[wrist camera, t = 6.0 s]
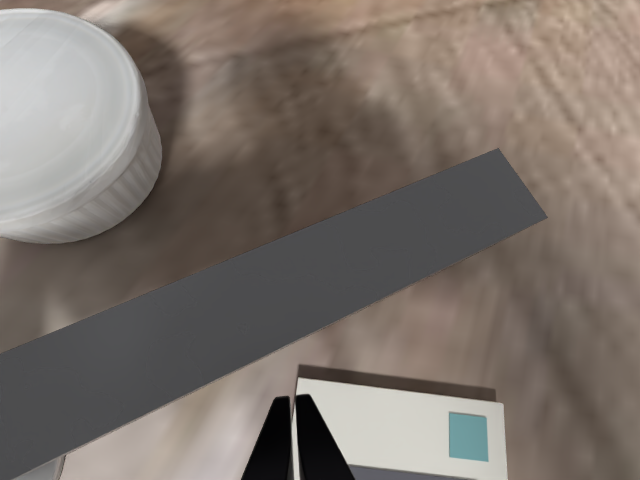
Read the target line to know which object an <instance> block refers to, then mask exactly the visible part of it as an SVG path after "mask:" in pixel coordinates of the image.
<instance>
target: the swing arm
mask: <svg viewBox="0 0 640 480" xmlns="http://www.w3.org/2000/svg"><path fill="white" fill-rule="evenodd" d="M546 218H548V217H547V216H546V214H545V213H544V211H543V210H542V209H541V207H540V206H539V204H538V203H537V202H536V200H535V199H534V197H533V196H532V195H531V193H530V192H529V190H528V189H527V188H526V186H525V185H524V183H523V182H522V181H521V179H520V178H519V176H518V175H517V174H516V172H515V171H514V169H513V168H512V167H511V165H510V164H509V162H508V161H507V160H506V158H505V157H504V155H503V154H502V153H501V151H500V150H499V148H497V149H495V150H493V151H490V152H488V153H485V154H483V155H480V156H478V157H476V158H473V159H471V160H468V161H466V162H464V163H461V164H459V165H456V166H454V167H451V168H449V169H447V170H444V171H442V172H439V173H437V174H434V175H432V176H430V177H427V178H425V179H422V180H420V181H418V182H415V183H413V184H410V185H408V186H405V187H403V188H401V189H398V190H396V191H393V192H391V193H388V194H386V195H384V196H381V197H379V198H376V199H374V200H372V201H369V202H367V203H364V204H362V205H359V206H357V207H355V208H352V209H350V210H347V211H345V212H343V213H340V214H338V215H335V216H333V217H330V218H328V219H326V220H323V221H321V222H318V223H316V224H313V225H311V226H309V227H306V228H304V229H301V230H299V231H297V232H294V233H292V234H289V235H287V236H284V237H282V238H280V239H277V240H275V241H272V242H270V243H268V244H265V245H263V246H260V247H258V248H255V249H253V250H251V251H248V252H246V253H243V254H241V255H238V256H236V257H234V258H231V259H229V260H226V261H224V262H222V263H219V264H217V265H214V266H212V267H209V268H207V269H205V270H202V271H200V272H197V273H195V274H192V275H190V276H188V277H185V278H183V279H180V280H178V281H176V282H173V283H171V284H168V285H166V286H163V287H161V288H159V289H156V290H154V291H151V292H149V293H147V294H144V295H142V296H139V297H137V298H134V299H132V300H130V301H127V302H125V303H122V304H120V305H117V306H115V307H113V308H110V309H108V310H105V311H103V312H101V313H98V314H96V315H93V316H91V317H88V318H86V319H84V320H81V321H79V322H76V323H74V324H72V325H69V326H67V327H64V328H62V329H59V330H57V331H55V332H52V333H50V334H47V335H45V336H42V337H40V338H38V339H35V340H33V341H30V342H28V343H26V344H23V345H21V346H18V347H16V348H13V349H11V350H9V351H6V352H4V353H1V354H0V480H16V479H18V478H20V477H22V476H24V475H26V474H28V473H30V472H32V471H34V470H36V469H38V468H40V467H42V466H44V465H46V464H48V463H50V462H52V461H54V460H57V459H59V458H61V457H63V456H65V455H67V454H69V453H71V452H73V451H75V450H77V449H79V448H81V447H83V446H85V445H87V444H89V443H91V442H93V441H95V440H97V439H99V438H101V437H103V436H105V435H108V434H110V433H112V432H114V431H116V430H118V429H120V428H122V427H124V426H126V425H128V424H130V423H132V422H134V421H136V420H138V419H140V418H142V417H144V416H146V415H148V414H150V413H152V412H154V411H157V410H159V409H161V408H163V407H165V406H167V405H169V404H171V403H173V402H175V401H177V400H179V399H181V398H183V397H185V396H187V395H189V394H191V393H193V392H195V391H197V390H199V389H201V388H203V387H205V386H208V385H210V384H212V383H214V382H216V381H218V380H220V379H222V378H224V377H226V376H228V375H230V374H232V373H234V372H236V371H238V370H240V369H242V368H244V367H246V366H248V365H250V364H252V363H254V362H257V361H259V360H261V359H263V358H265V357H267V356H269V355H271V354H273V353H275V352H277V351H279V350H281V349H283V348H285V347H287V346H289V345H291V344H293V343H295V342H297V341H299V340H301V339H303V338H305V337H308V336H310V335H312V334H314V333H316V332H318V331H320V330H322V329H324V328H326V327H328V326H330V325H332V324H334V323H336V322H338V321H340V320H342V319H344V318H346V317H348V316H350V315H352V314H354V313H357V312H359V311H361V310H363V309H365V308H367V307H369V306H371V305H373V304H375V303H377V302H379V301H381V300H383V299H385V298H387V297H389V296H391V295H393V294H395V293H397V292H399V291H401V290H403V289H405V288H408V287H410V286H412V285H414V284H416V283H418V282H420V281H422V280H424V279H426V278H428V277H430V276H432V275H434V274H436V273H438V272H440V271H442V270H444V269H446V268H448V267H450V266H452V265H454V264H457V263H459V262H461V261H463V260H465V259H467V258H469V257H471V256H473V255H475V254H477V253H479V252H481V251H483V250H485V249H487V248H489V247H491V246H493V245H495V244H496V243H498V242H500V241H502V240H504V239H506V238H508V237H510V236H512V235H514V234H516V233H518V232H520V231H522V230H524V229H526V228H528V227H530V226H532V225H534V224H536V223H538V222H540V221H542V220H544V219H546Z"/></svg>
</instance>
